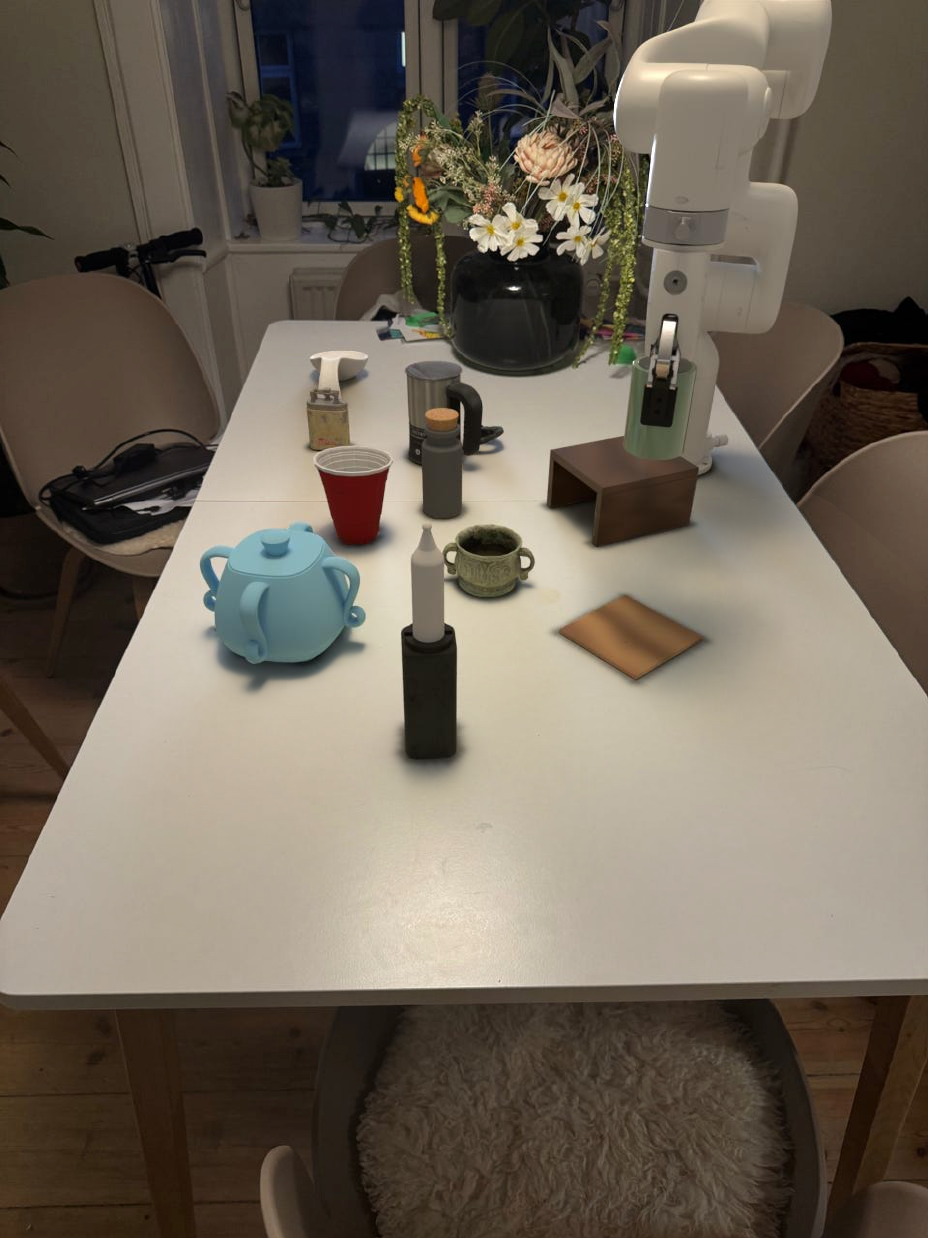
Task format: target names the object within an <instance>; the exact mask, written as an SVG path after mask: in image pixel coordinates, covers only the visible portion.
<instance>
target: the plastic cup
mask: <svg viewBox="0 0 928 1238" xmlns="http://www.w3.org/2000/svg"><path fill="white" fill-rule="evenodd" d="M312 461H313V464H314V467H315V468H316V470H317V471H318V473H319V478H320V481H321V484H322V487H323V491H324V494H325V499H326V502H327V505H328V511H329V513H330V518H331V520H332V522H333V526H334V530H335V534H336V537H337V538H338V540H339V541H340V542H341V543H344V544H347V545H353V546H354V545H355V546H358V545H366V544H369V543H372V542H373V541H375V540H376V539H377V537H378V534H379V531H380V523H381V517H382V516H381V515H382V514H383V513H382V512H383V507H384V506H383V505H384V501H385V492H386V484H387V480H388V476H389V475H388V474H389V472H390V468H391V467H392V464H393V463H394V457H393V455H392V454H391V453H390V452H387V451H386V450H384V449H381V448H376V447H372V446H364V445H351V446H340V447H334V448H329V449H326V450H320V451H319V452H316V454H315V455H314V456H313V457H312Z"/></svg>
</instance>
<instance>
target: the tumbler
mask: <svg viewBox="0 0 928 1238" xmlns="http://www.w3.org/2000/svg"><path fill="white" fill-rule="evenodd" d="M650 357H651V356H650ZM650 357H648V356H647V355H644V356H643V355H642V356H640V357H637V358H635V359H634V360H633V361H632V366H631V375H630V383H629V384H630V385H629V391H628V399H627V400H628V401H627V410H626V417H625V425H624V434H623V436H624V442H623V447H624V449H625V450H626V451H627V452H628V453H630V454H632V455H634V456H637V457H640V458H644V459H650V460H668V459H673V458H677V457H679V456H680V455H682V454H683V452H684V447H685V441H686V435H687V429H688V423H689V416H690V410H691V404H692V398H693V392H694V385H695V379H696V373H697V365H696V364H695V363H694V362H692V361H688V360H687V359H685V358H681V357H680V362H679V367H678V373H677V380H676V386H675V387H678V391H677V397H676V404H675V410H674V417H673V423H672V426H671V427H658V426H648V425H642V424H641V423H640V418H641V410H642V402H643V394H644V387H645V384H647V380H648V374H649V367H650V360H651V358H650ZM656 365H657V361H656ZM670 367H672V368H673V363H670ZM672 370H673V369H672ZM670 382H671V381H670Z"/></svg>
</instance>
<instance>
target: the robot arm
mask: <svg viewBox="0 0 928 1238" xmlns="http://www.w3.org/2000/svg"><path fill="white" fill-rule="evenodd" d="M832 11H833V10H832V1H831V0H703V2H702V4H701V5H700V7H699V9H698V11H697V14H696V16H695V19H694V21H693V22H690V23H687V24H685V25H683V26H681V27H677V28H675V29H673V30H670V31H666V32H664V33H661V34H658V35H656V36H653V37H651V38H649V39H647V40H646V41H644V42H643V43H642V44H640V46H638V48H637V49H636V50H635V51H634V53H633V54H632V56H631V58H630V60H629V62H628V64H627V66H626V68H625V70H624V73H623V75H622V77H621V80H620V83H619V86H618V89H617V93H616V97H615V100H614V101H615V102H614V111H613V123H614V124H613V125H614V132H615V135H616V138H617V140H618V142H619V144H620V145H621V146H622V147H623V148H624V149H626V150H627V151H629V152H631V153H634V154H642V155H643V154H644V155H647V154H648V155H651V159H650V167H649V168H650V169H649V176H648V186H647V193H646V201H645V202H646V204H645V210H644V218H643V229H642V237H641V243H642V244H643V245H645V246H647V247H650V248H653V253H652V261H651V269H650V278H649V287H648V297H647V307H646V318H645V319H646V320H645V337H644V354H645V356H648V357H650V356H651V357H650V358H651V360H650V367H649V374H648V380H647V384H645V387H644V394H643V402H642V410H641V418H640V423H641V424H642V425H648V426H658V427H671V426H672V423H673V417H674V410H675V404H676V397H677V391H678V387H675V386H676V380H677V373H678V367H679V362H680V357H681V358H685V359H687V360H688V361H692V362H694V363H695V364H696V365H697V373H696V379H695V385H694V392H693V398H692V404H691V410H690V416H689V423H688V429H687V435H686V441H685V447H684V452H683V454H682V455H680V456H681V457H683V458H684V459H686V460H687V461H689V462H691V463H692V464H694V465H696V466H697V467H699V471H698V476H700V475H702V474H705V473H707V472H708V471H710V469H711V468H712V464H713V458H712V457H713V456H712V455H711V454H710V451H712V450H713V449H714V448H719V447H724V446H727V445H728V444H729V437H728V435H727V434H726V433H723V434H717V435H714V436H713V434H712V432H711V431H708V430H709V425H710V419H711V415H712V414H711V413H712V408H713V402H714V396H715V390H716V385H717V379H718V374H719V369H720V355H719V351H718V348H717V345H716V344H715V342H714V341H713V339H712V337H711V336H710V334H709V333H708V332H723V333H733V334H734V333H735V334H747V335H760V334H761V335H762V334H765V333H767V332H769V331H770V330H771V329H772V328H773V327H774V325H775V323H776V321H777V319H778V316H779V313H780V310H781V304H782V300H783V296H784V290H785V286H786V281H787V276H788V270H789V267H790V262H791V261H790V260H791V256H792V252H793V251H792V250H793V246H794V241H795V235H796V230H797V223H798V214H799V202H798V196H797V193H796V192H795V190H794V189H792V188H791V187H790V186H789V185H786V184H781V183H775V182H759V181H750V178H749V177H750V175H749V174H750V168H751V163H752V162H751V161H752V156H753V152H754V147H755V146H756V145H757V143H758V142H759V141H760V140H761V139H762V138H763V137H764V136H765V134H766V132H767V129H768V126H769V123H770V119H776V120H791V119H795V118H798V117H800V116H802V115H804V114H805V113H806V112H807V111H808V109H809V108H810V107H811V105H812V104H813V101H814V100H815V97H816V94H817V91H818V87H819V84H820V79H821V77H822V71H823V66H824V63H825V59H826V55H827V51H828V48H829V44H830V37H831V31H832V23H833V12H832ZM712 255H716V256H717V255H718V256H719V255H720V256H729V257H730V256H732V257H744V258H745V257H746V258H751V259H752V260H753V261H754V262H755V264H748V263H747V264H746V263H733V262H726V261H725V262H724V261H714V260H711V257H712ZM656 361H657V365H656ZM670 363H673V368H672V367H670ZM672 369H673V370H672ZM670 381H671V382H670Z"/></svg>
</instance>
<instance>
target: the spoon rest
mask: <svg viewBox="0 0 928 1238" xmlns="http://www.w3.org/2000/svg"><path fill="white" fill-rule="evenodd" d="M368 361H369V355H368V354H366V353H364V352H361V351H355V350H332V351H331V350H330V351H322V352H319V353H315V354H312V355H311V356H310V357H309V362H310V364H311V365H312V367H313V368H314V369H315V370H316V371H317V372H318V373H319V378H318V384H317V389H324V388H331V390H337V391H339V395H338V399H343V398H342V392H341V386H340V382H339V381H349V380H351V379H353V378H354V377H355V376H356V375H358V374H359V373H361V372H362V371H363V370H364V368H365V367H366V366H367V364H368ZM317 397H318V398H326V397H325V396H324V394H317ZM330 398H332V399H334V397H333V396H330Z"/></svg>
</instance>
